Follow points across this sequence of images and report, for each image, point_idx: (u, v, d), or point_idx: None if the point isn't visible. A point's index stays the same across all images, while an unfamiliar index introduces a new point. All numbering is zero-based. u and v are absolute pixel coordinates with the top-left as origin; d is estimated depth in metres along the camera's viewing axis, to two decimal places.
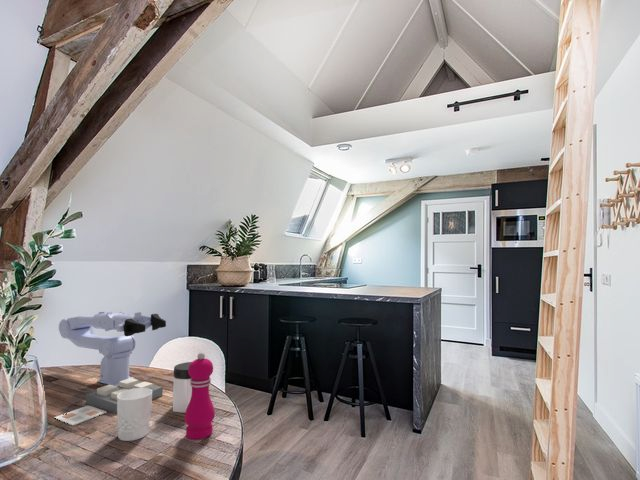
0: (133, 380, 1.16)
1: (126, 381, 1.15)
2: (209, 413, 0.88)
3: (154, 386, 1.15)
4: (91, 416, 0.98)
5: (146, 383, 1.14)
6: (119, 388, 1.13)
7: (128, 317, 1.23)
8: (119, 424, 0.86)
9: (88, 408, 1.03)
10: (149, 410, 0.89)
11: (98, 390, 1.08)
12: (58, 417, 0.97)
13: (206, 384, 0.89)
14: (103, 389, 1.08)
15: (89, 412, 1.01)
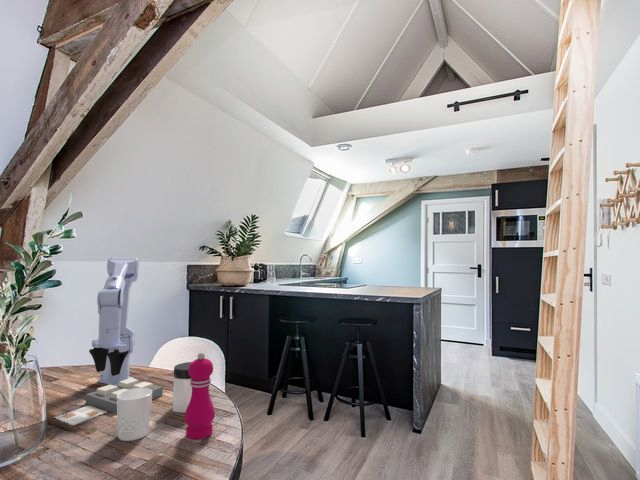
0: (133, 380, 1.16)
1: (126, 381, 1.15)
2: (209, 413, 0.88)
3: (154, 386, 1.15)
4: (91, 416, 0.98)
5: (146, 383, 1.14)
6: (119, 388, 1.13)
7: None
8: (119, 424, 0.86)
9: (88, 408, 1.03)
10: (149, 410, 0.89)
11: (98, 390, 1.08)
12: (58, 417, 0.97)
13: (206, 384, 0.89)
14: (103, 389, 1.08)
15: (89, 412, 1.01)
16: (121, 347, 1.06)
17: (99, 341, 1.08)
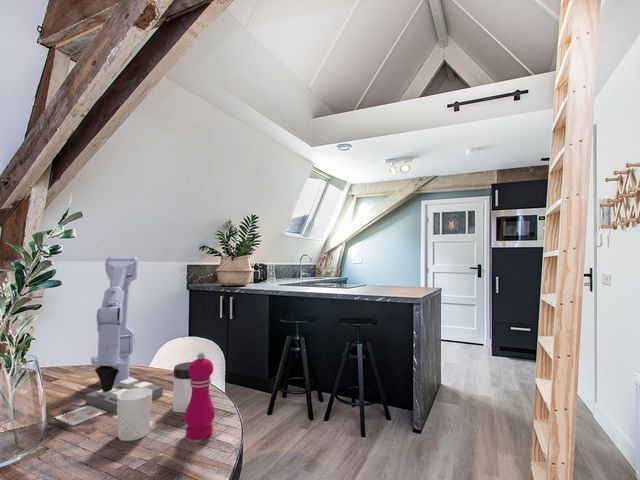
0: (133, 380, 1.16)
1: (126, 381, 1.15)
2: (209, 413, 0.88)
3: (154, 386, 1.15)
4: (91, 416, 0.98)
5: (146, 383, 1.14)
6: (119, 388, 1.13)
7: (98, 352, 1.09)
8: (119, 424, 0.86)
9: (88, 408, 1.03)
10: (149, 410, 0.89)
11: (98, 393, 1.08)
12: (58, 417, 0.97)
13: (206, 384, 0.89)
14: (103, 392, 1.08)
15: (89, 412, 1.01)
16: (120, 365, 1.06)
17: (98, 359, 1.08)
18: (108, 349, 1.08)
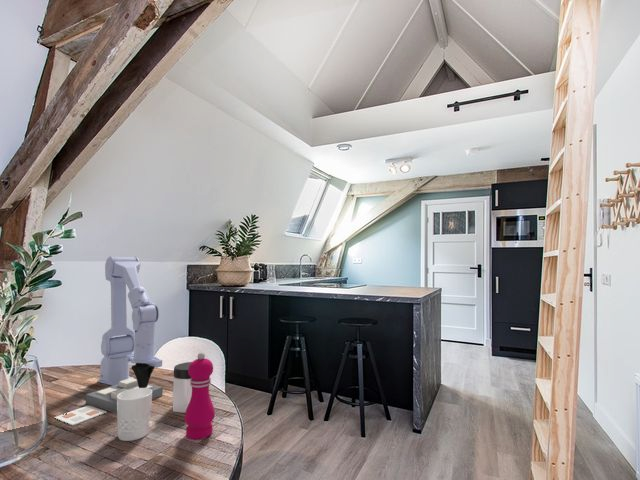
0: (133, 380, 1.16)
1: (126, 381, 1.15)
2: (209, 413, 0.88)
3: (154, 386, 1.15)
4: (91, 416, 0.98)
5: None
6: (119, 388, 1.13)
7: (134, 350, 1.12)
8: (119, 424, 0.86)
9: (88, 408, 1.03)
10: (149, 410, 0.89)
11: (98, 393, 1.08)
12: (58, 417, 0.97)
13: (206, 384, 0.89)
14: (103, 392, 1.08)
15: (89, 412, 1.01)
16: (157, 362, 1.09)
17: (135, 356, 1.11)
18: (144, 347, 1.11)
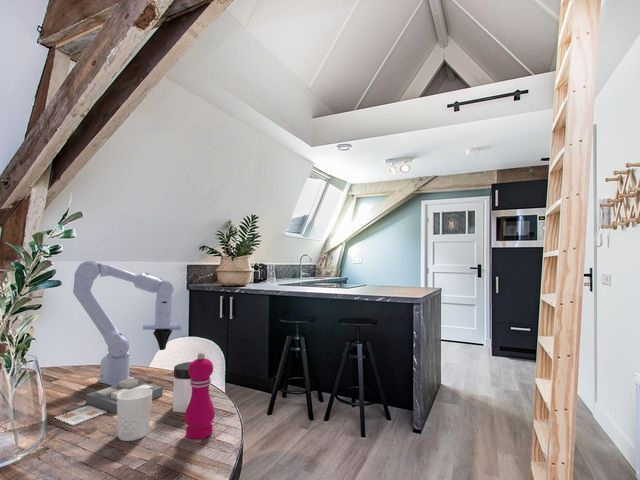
0: (133, 380, 1.16)
1: (126, 381, 1.15)
2: (209, 413, 0.88)
3: (154, 386, 1.15)
4: (91, 416, 0.98)
5: (146, 386, 1.13)
6: (119, 388, 1.13)
7: (156, 318, 1.33)
8: (119, 424, 0.86)
9: (88, 408, 1.03)
10: (149, 410, 0.89)
11: (98, 393, 1.08)
12: (58, 417, 0.97)
13: (206, 384, 0.89)
14: (103, 392, 1.08)
15: (89, 412, 1.01)
16: (181, 326, 1.34)
17: (158, 323, 1.32)
18: (167, 315, 1.33)
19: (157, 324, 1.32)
